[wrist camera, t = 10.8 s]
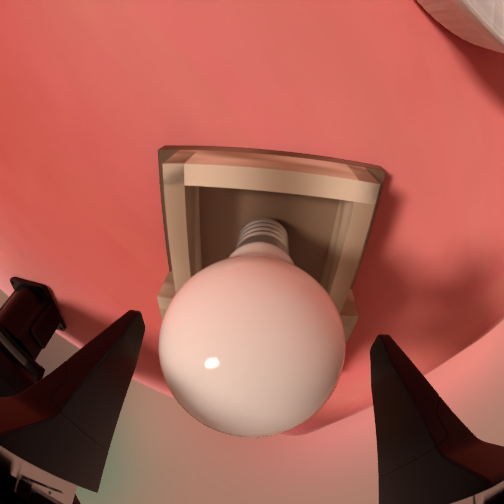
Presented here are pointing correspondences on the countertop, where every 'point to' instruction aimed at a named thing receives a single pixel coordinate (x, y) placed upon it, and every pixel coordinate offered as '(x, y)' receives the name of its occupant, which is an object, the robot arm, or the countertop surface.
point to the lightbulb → (252, 339)
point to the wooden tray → (268, 212)
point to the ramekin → (471, 20)
